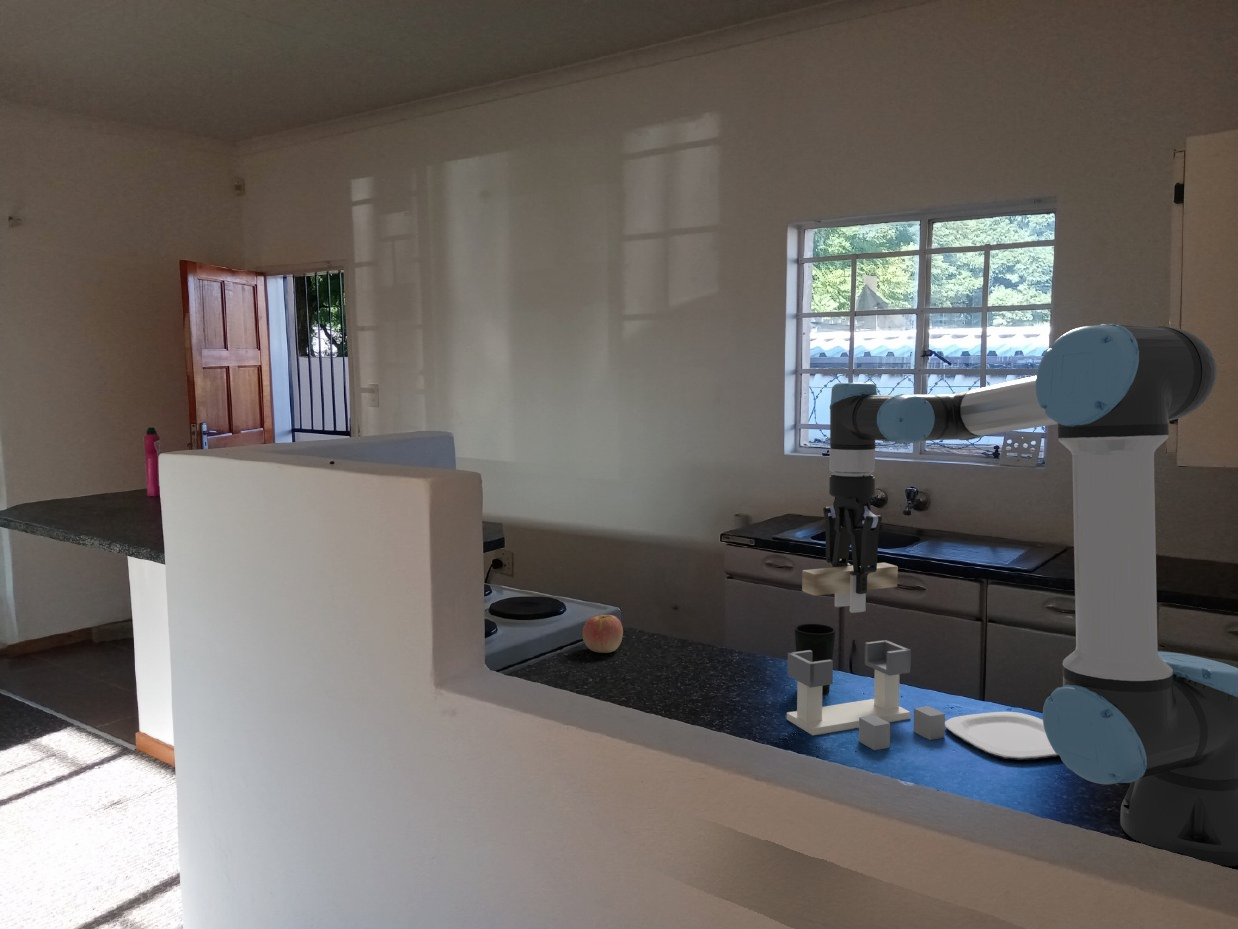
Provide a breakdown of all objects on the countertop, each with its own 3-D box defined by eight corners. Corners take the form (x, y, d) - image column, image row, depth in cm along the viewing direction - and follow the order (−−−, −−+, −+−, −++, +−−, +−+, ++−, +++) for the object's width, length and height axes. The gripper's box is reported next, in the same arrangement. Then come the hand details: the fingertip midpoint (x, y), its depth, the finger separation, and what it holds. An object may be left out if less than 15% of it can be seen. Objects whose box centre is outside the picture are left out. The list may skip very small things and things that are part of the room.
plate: (1002, 771, 136) (1002, 760, 136) (930, 728, 154) (931, 718, 153) (1100, 757, 141) (1101, 747, 141) (1020, 717, 158) (1021, 708, 158)
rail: (884, 582, 160) (884, 562, 160) (897, 586, 157) (897, 566, 156) (802, 591, 154) (802, 570, 153) (814, 595, 150) (814, 574, 150)
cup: (835, 698, 167) (836, 635, 166) (793, 696, 169) (794, 633, 168) (834, 685, 175) (834, 624, 174) (794, 682, 176) (794, 622, 176)
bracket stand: (911, 718, 157) (913, 651, 156) (811, 735, 149) (812, 665, 148) (882, 703, 164) (883, 639, 163) (785, 719, 157) (785, 652, 156)
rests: (944, 737, 148) (945, 713, 148) (874, 750, 143) (874, 726, 143) (927, 729, 152) (928, 706, 152) (858, 741, 147) (859, 717, 147)
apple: (617, 658, 194) (617, 621, 193) (578, 655, 196) (577, 619, 195) (627, 647, 202) (626, 611, 201) (588, 644, 204) (588, 609, 203)
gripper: (902, 477, 147) (899, 618, 149) (841, 468, 163) (839, 596, 165) (864, 479, 144) (861, 622, 146) (805, 470, 160) (804, 600, 162)
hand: (849, 608), depth 155 cm, fingers closed on rail, 4 cm apart
